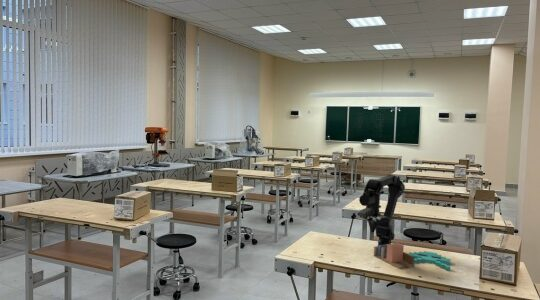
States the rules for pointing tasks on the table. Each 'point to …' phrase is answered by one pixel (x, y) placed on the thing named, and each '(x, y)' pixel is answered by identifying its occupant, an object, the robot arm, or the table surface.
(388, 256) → the salmon pink block
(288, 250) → the table surface
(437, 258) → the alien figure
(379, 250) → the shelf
